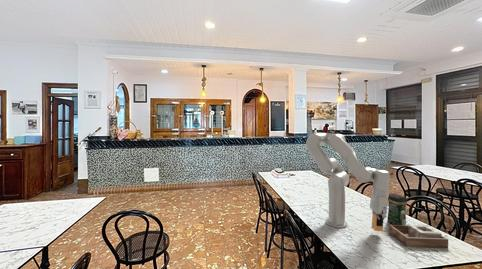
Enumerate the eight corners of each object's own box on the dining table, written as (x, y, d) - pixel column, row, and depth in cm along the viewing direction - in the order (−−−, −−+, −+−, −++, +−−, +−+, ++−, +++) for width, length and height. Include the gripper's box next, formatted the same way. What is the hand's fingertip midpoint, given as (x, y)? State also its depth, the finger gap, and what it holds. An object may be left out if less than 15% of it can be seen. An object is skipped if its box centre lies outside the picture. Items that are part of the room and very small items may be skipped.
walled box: (388, 232, 134) (388, 222, 133) (424, 233, 132) (425, 223, 132) (406, 246, 118) (407, 235, 117) (448, 248, 116) (448, 236, 116)
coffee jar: (384, 221, 149) (385, 192, 149) (394, 220, 152) (395, 191, 151) (398, 227, 140) (399, 197, 139) (408, 226, 142) (409, 196, 142)
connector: (370, 227, 133) (372, 210, 133) (378, 227, 133) (380, 210, 132) (374, 230, 129) (376, 213, 128) (383, 231, 129) (384, 214, 128)
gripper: (366, 187, 138) (363, 217, 139) (381, 196, 121) (378, 230, 123) (379, 188, 138) (376, 218, 139) (396, 197, 121) (392, 231, 122)
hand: (377, 223), depth 131 cm, fingers closed on connector, 4 cm apart
